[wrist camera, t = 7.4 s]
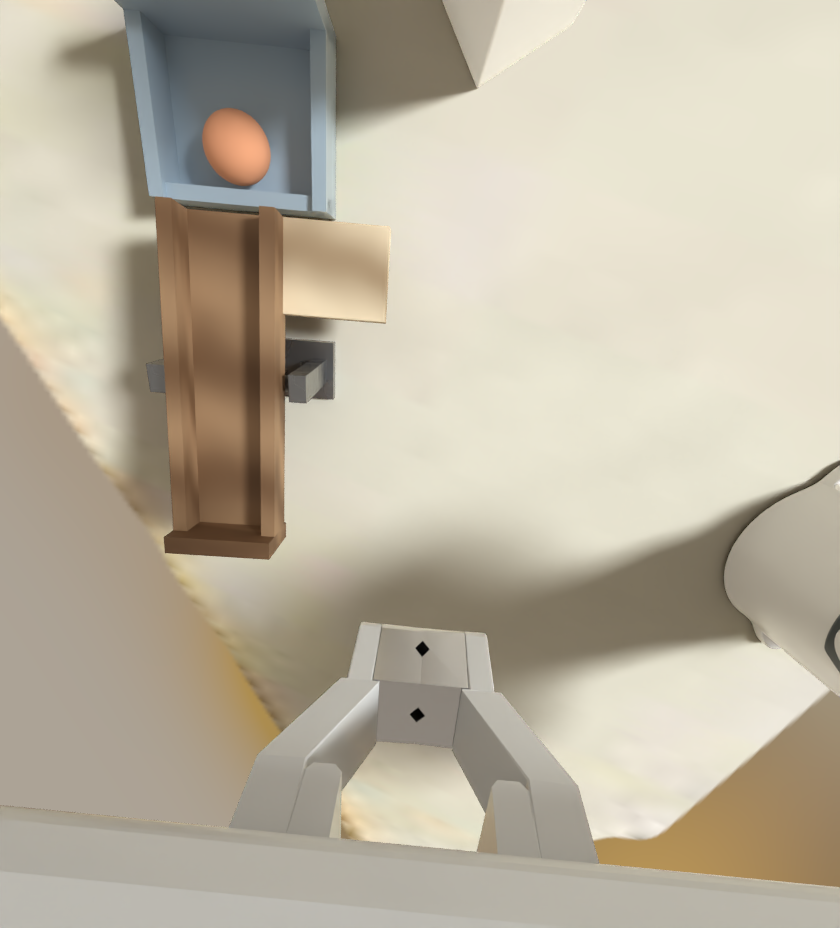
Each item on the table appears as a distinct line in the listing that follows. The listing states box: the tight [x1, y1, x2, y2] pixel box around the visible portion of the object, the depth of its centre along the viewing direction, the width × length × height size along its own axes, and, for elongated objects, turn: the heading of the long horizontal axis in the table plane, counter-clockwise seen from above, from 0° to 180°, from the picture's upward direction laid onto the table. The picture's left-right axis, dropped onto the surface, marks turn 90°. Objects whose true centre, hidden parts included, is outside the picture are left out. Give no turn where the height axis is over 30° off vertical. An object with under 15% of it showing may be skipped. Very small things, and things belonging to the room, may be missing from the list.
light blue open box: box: [114, 0, 336, 220], centre depth 23 cm, size 10×9×6 cm
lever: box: [155, 196, 391, 560], centre depth 25 cm, size 19×12×4 cm, turn 175°
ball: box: [202, 108, 271, 186], centre depth 24 cm, size 4×4×4 cm
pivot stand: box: [146, 338, 335, 403], centre depth 28 cm, size 4×10×7 cm, turn 86°
